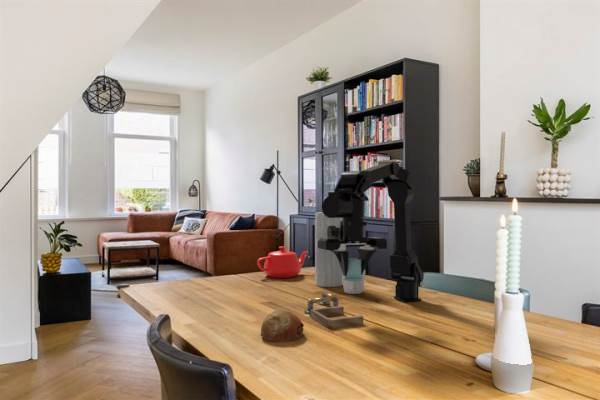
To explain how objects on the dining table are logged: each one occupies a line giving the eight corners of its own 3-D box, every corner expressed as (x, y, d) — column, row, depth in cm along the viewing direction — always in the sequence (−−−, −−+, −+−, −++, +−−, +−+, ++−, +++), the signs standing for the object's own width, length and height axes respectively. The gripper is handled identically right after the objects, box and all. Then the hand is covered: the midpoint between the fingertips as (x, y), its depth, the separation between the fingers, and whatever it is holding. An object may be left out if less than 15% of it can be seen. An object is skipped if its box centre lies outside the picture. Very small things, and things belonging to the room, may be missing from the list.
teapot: (267, 282, 175) (267, 250, 175) (248, 276, 188) (248, 246, 187) (319, 275, 189) (319, 246, 189) (298, 270, 202) (298, 243, 202)
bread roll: (268, 344, 113) (254, 315, 113) (305, 326, 114) (291, 297, 113) (268, 359, 103) (253, 327, 103) (309, 338, 104) (294, 307, 103)
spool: (356, 277, 126) (356, 257, 126) (365, 280, 121) (365, 260, 121) (340, 278, 124) (340, 258, 124) (348, 281, 119) (349, 260, 120)
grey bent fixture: (326, 301, 142) (326, 289, 142) (344, 310, 132) (344, 297, 131) (292, 305, 138) (292, 292, 138) (307, 314, 127) (307, 301, 127)
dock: (341, 313, 129) (341, 306, 129) (363, 324, 118) (363, 316, 118) (309, 316, 125) (309, 309, 125) (328, 328, 114) (328, 320, 114)
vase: (324, 281, 176) (324, 211, 176) (347, 284, 170) (347, 211, 170) (310, 285, 168) (310, 212, 168) (333, 288, 162) (333, 212, 162)
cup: (364, 297, 148) (364, 273, 148) (339, 296, 149) (339, 272, 149) (365, 291, 158) (366, 268, 158) (343, 290, 160) (343, 267, 160)
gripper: (367, 216, 134) (367, 269, 134) (309, 216, 127) (308, 272, 127) (389, 218, 124) (388, 275, 123) (327, 217, 116) (326, 279, 116)
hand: (352, 275), depth 123 cm, fingers closed on spool, 4 cm apart
